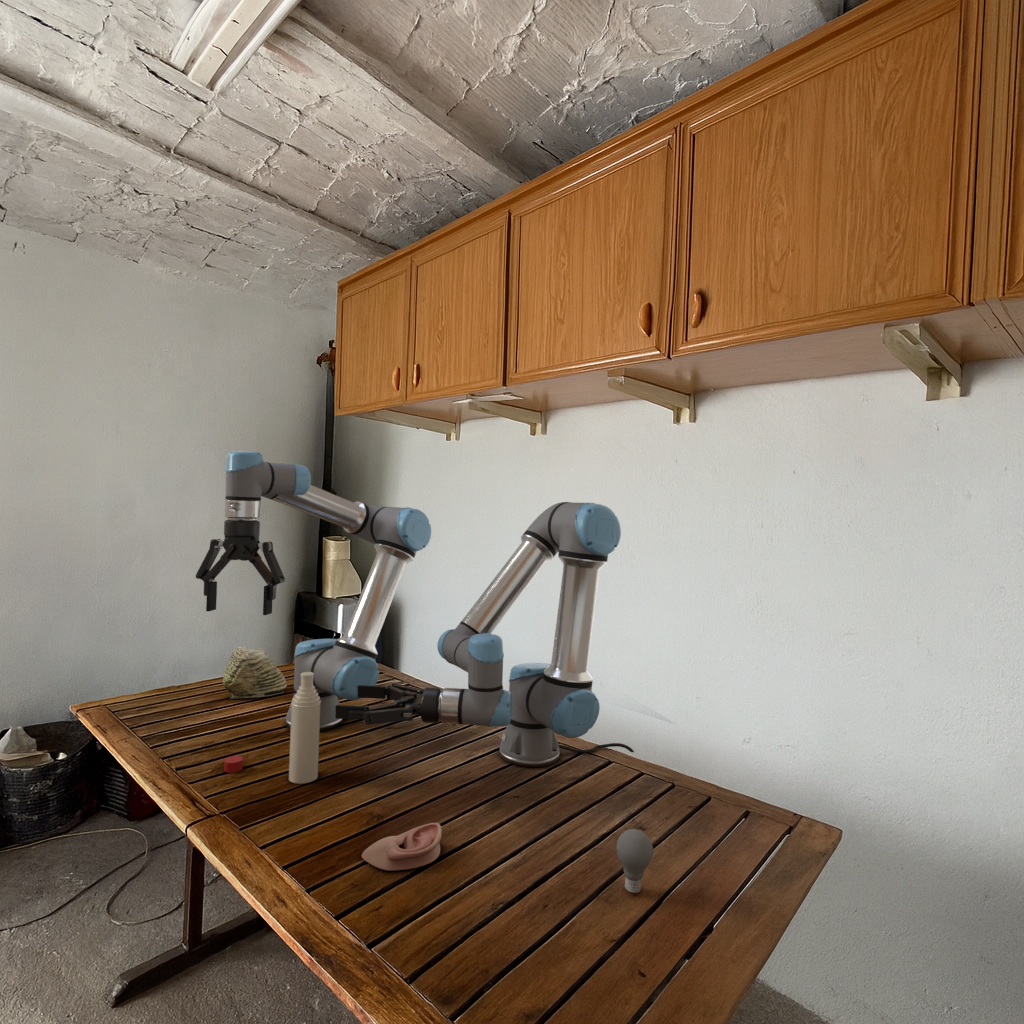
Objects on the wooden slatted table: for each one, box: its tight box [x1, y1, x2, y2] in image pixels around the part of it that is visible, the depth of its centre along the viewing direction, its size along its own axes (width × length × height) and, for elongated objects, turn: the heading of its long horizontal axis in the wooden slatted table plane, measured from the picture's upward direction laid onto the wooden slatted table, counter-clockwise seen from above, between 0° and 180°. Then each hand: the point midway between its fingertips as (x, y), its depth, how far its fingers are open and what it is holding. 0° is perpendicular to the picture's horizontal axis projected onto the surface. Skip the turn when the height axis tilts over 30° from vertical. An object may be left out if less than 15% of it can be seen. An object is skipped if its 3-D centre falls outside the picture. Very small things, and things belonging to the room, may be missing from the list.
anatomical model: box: [361, 822, 443, 872], centre depth 114 cm, size 13×4×12 cm
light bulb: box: [615, 828, 654, 894], centre depth 106 cm, size 6×6×10 cm
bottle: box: [288, 672, 321, 785], centre depth 142 cm, size 6×6×24 cm
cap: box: [223, 755, 244, 774], centre depth 145 cm, size 4×4×2 cm
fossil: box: [222, 646, 288, 699], centre depth 198 cm, size 9×18×15 cm, turn 132°
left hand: (239, 612), depth 144 cm, fingers open, 13 cm apart
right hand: (347, 700), depth 141 cm, fingers open, 13 cm apart
